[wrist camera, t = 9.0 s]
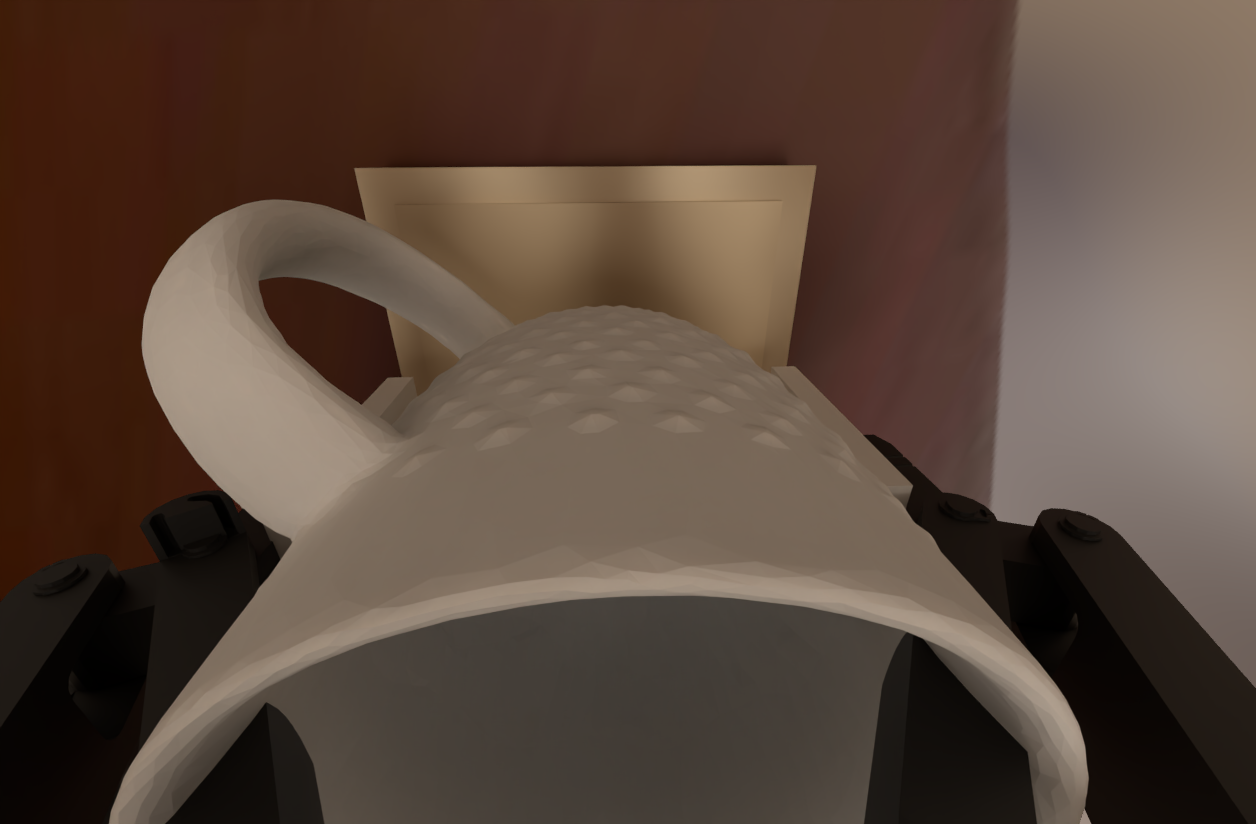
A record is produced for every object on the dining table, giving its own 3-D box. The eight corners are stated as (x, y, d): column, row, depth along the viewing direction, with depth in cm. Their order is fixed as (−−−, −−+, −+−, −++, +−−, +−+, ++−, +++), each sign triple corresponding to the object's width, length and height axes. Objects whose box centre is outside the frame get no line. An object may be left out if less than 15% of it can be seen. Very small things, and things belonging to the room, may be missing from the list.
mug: (270, 325, 15) (-728, 832, 4) (516, 44, 13) (-412, -1394, 1) (596, 577, 21) (600, 1093, 9) (815, 422, 18) (1210, 880, 7)
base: (453, 500, 23) (436, 539, 21) (386, 167, 17) (351, 168, 14) (747, 488, 24) (764, 525, 22) (788, 165, 18) (818, 165, 15)
